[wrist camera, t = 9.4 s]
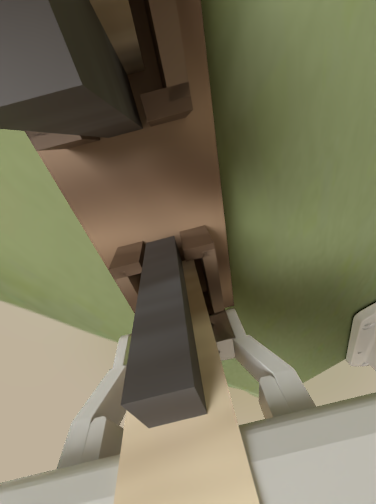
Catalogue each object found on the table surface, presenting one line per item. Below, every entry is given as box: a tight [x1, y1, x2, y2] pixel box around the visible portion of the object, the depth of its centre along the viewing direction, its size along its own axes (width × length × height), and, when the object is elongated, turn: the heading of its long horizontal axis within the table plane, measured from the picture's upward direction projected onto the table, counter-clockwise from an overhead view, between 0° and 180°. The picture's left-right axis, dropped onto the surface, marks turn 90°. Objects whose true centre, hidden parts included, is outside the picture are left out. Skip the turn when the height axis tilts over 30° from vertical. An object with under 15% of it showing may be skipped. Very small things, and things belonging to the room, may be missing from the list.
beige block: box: [114, 236, 260, 504], centre depth 8 cm, size 6×3×10 cm, turn 13°
